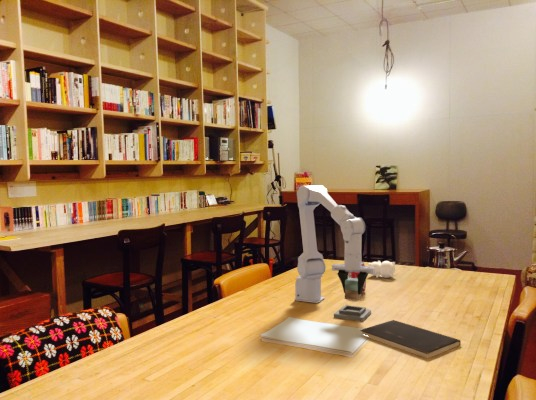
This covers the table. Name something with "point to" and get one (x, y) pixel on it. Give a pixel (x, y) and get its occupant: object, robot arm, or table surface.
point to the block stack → (352, 289)
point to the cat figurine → (383, 269)
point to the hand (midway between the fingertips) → (352, 293)
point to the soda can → (354, 275)
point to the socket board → (352, 313)
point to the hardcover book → (411, 338)
